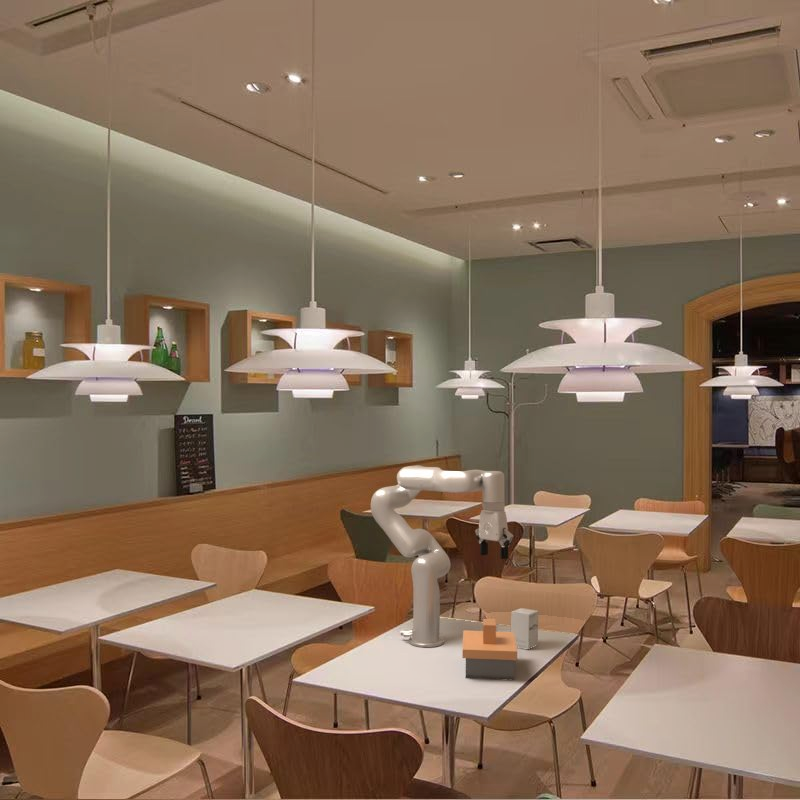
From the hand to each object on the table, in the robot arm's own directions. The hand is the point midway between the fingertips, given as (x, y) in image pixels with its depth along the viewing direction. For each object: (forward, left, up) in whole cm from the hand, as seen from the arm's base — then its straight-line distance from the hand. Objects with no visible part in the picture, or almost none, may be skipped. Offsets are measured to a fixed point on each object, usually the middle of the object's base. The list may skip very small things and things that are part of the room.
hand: (493, 556), depth 285 cm
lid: (-2, -16, -27) cm, 31 cm away
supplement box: (+11, +11, -34) cm, 37 cm away
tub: (-2, -16, -34) cm, 37 cm away
